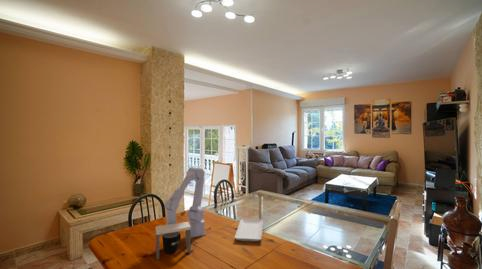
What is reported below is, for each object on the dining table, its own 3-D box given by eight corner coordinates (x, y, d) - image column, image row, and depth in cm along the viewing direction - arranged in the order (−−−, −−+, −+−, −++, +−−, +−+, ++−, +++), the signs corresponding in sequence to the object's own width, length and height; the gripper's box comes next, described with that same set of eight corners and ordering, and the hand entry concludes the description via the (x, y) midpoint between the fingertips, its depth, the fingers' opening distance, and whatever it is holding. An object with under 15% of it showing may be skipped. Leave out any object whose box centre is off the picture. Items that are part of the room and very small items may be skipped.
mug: (170, 257, 122) (170, 239, 121) (158, 252, 126) (158, 234, 126) (185, 246, 133) (186, 230, 132) (174, 242, 137) (174, 226, 136)
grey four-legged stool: (188, 246, 134) (188, 221, 134) (190, 252, 127) (190, 226, 127) (155, 252, 127) (155, 226, 127) (156, 259, 120) (156, 232, 120)
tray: (233, 243, 138) (233, 237, 138) (240, 222, 169) (240, 218, 169) (261, 244, 136) (261, 239, 136) (263, 224, 167) (263, 219, 167)
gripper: (182, 216, 141) (182, 237, 141) (158, 219, 135) (158, 242, 135) (184, 220, 135) (184, 242, 135) (158, 223, 129) (158, 247, 129)
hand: (171, 242), depth 135 cm, fingers closed, pressing on mug
